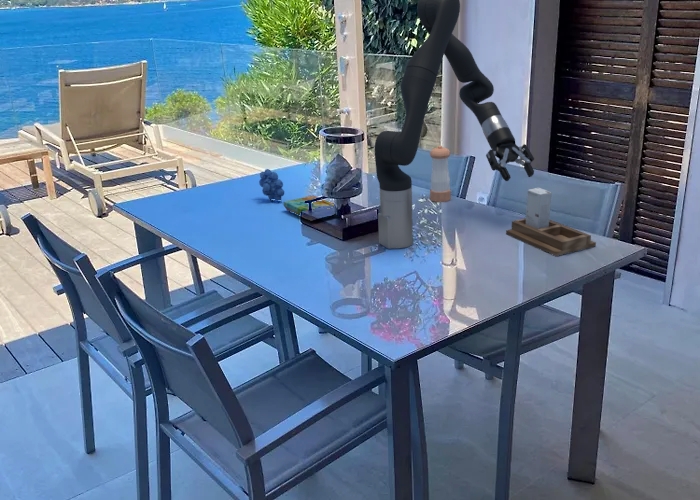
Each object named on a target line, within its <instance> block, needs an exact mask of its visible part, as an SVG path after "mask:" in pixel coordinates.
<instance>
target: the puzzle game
mask: <svg viewBox="0 0 700 500" xmlns="http://www.w3.org/2000/svg"><path fill="white" fill-rule="evenodd" d="M316 198H320V197H318V196H316V195H313V194H312V195H308V196H303V197H299V198H295V199H290V200H286V201H283V202H282V203H283V207H284V208H285V209H286V210H287V211H288V210H289V211H292V212H294V213H296V214H298V215H300V213H301V212H302V211H308V209H309V206H308V204H307V203H304V202H305V201H307V200H312V199H316ZM334 204H335V203H333V202H331V201H328V200H327V199H324V200H322V201H316V202H313V203H312V209H315V208H318V207H323V206H329V205H332V206H334ZM331 208H333V207H331ZM327 209H330V208H327ZM289 211H288V212H289Z"/></svg>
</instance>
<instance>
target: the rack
mask: <svg viewBox="0 0 700 500" xmlns="http://www.w3.org/2000/svg"><path fill="white" fill-rule="evenodd" d="M505 231H506V232H505V235H507V236H510V237H512V238H514V239H516V240H518V241H521V242H523V243H525V244H527V245H530V246H532V247H534V248H536V249H538V248H539V249H538V250H540V249H541V250H540V251H543V252H545V251H546V252H545V253H547V252H549V253H551V254H550V255H552V254H553V255H552V256H554V255H555V257H559V256H558V255H560V256H564V255H567V254H566V253H568V254H571V253H570V252H572V253H575V252H574V251H576V252H579V251H578V250H580V251H583V250H582V249H584V250H587V249H586V248H588V249H591V248H590V247H592V248H595V247H594V246H597V245H596V244H597V241H593V240H592V239H591V238H592V235H591V234H589V233H586V232H583V231H581V230H578V229H575V228H573V227H570V226H567V225H565V224H562V223H560V222H556V221H555V220H552V219H549V227H546V228H542V229H536V228H533V227H531V226H528V225H526V217H525V218H521V219H517V220H512V221H511V228H510V229H507V230H505ZM549 253H548V254H549ZM563 254H564V255H563Z"/></svg>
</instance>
